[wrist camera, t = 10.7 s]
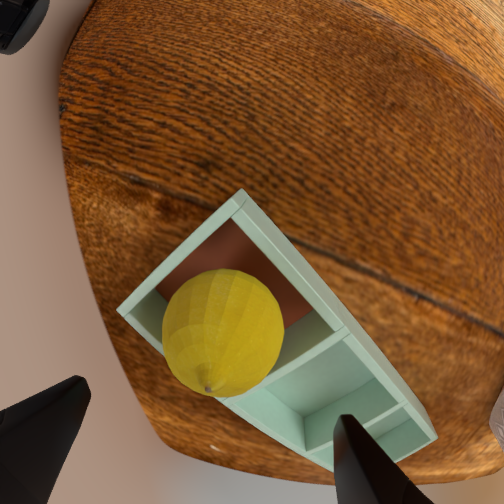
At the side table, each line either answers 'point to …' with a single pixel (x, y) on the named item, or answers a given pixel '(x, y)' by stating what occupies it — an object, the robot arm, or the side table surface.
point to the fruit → (222, 333)
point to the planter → (498, 419)
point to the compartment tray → (292, 341)
